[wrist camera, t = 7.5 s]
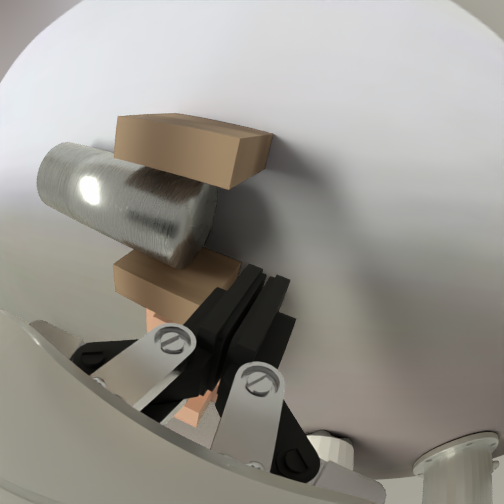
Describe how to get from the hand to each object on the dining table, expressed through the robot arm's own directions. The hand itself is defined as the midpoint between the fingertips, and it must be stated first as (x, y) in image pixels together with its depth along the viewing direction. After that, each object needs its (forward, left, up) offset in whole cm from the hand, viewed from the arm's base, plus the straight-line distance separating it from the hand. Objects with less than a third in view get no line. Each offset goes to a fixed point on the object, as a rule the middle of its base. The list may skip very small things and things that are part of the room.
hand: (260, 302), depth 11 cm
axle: (+11, 0, -6) cm, 12 cm away
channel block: (+6, -1, -6) cm, 8 cm away
